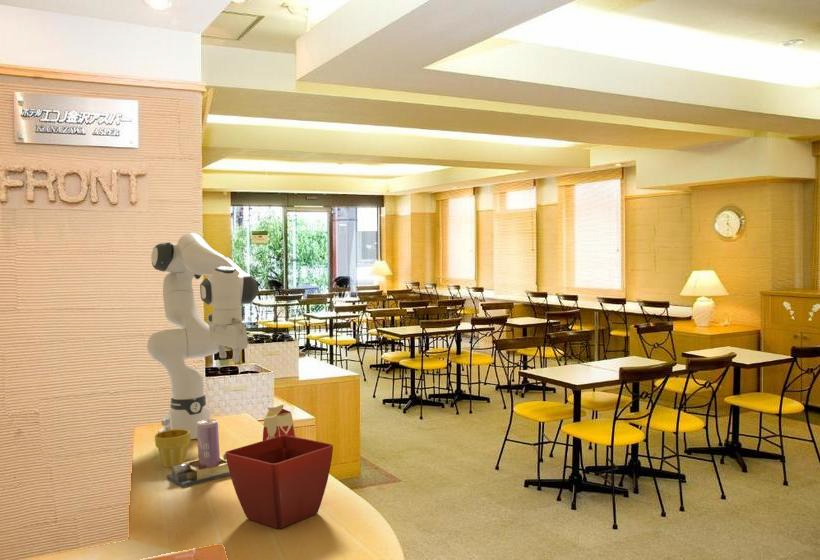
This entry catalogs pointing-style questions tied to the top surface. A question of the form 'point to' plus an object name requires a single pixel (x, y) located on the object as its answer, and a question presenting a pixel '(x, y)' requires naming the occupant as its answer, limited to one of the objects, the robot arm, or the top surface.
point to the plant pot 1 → (172, 446)
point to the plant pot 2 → (280, 478)
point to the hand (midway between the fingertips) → (229, 359)
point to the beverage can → (208, 443)
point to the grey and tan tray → (197, 472)
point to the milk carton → (278, 423)
